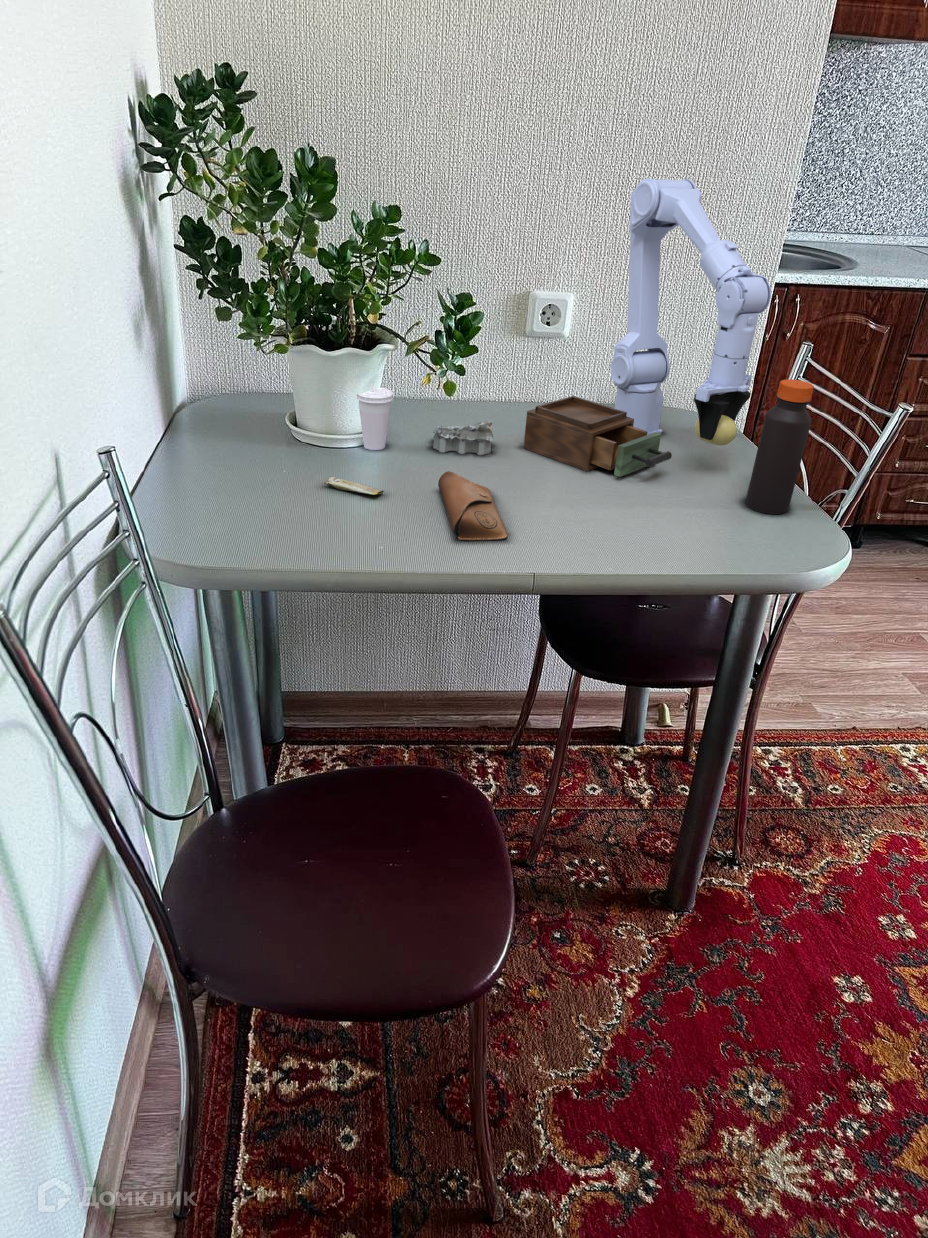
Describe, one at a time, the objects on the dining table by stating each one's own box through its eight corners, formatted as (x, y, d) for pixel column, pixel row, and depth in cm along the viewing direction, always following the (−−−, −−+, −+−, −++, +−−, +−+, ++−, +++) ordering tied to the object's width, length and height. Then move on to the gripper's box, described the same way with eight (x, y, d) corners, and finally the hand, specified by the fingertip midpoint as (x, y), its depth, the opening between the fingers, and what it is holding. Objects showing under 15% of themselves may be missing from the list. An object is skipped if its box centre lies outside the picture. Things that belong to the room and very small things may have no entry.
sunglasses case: (512, 536, 128) (491, 499, 125) (469, 560, 129) (447, 524, 126) (489, 488, 144) (470, 453, 140) (451, 509, 144) (431, 475, 141)
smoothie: (356, 439, 161) (356, 361, 154) (392, 440, 162) (393, 362, 154) (355, 452, 155) (355, 371, 148) (393, 453, 156) (394, 372, 149)
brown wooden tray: (572, 400, 165) (573, 395, 165) (626, 417, 159) (627, 412, 158) (535, 411, 159) (535, 406, 158) (589, 429, 152) (590, 424, 151)
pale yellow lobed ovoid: (701, 434, 157) (707, 406, 155) (738, 445, 153) (745, 417, 151) (686, 440, 154) (692, 411, 152) (724, 452, 150) (730, 423, 148)
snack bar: (384, 489, 140) (376, 489, 137) (383, 499, 140) (374, 499, 138) (332, 475, 143) (322, 475, 140) (330, 485, 144) (320, 484, 141)
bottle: (788, 502, 147) (820, 381, 137) (787, 518, 142) (820, 392, 131) (746, 495, 149) (774, 374, 139) (743, 510, 143) (772, 385, 133)
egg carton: (493, 443, 164) (495, 421, 161) (490, 458, 157) (492, 435, 155) (435, 437, 164) (436, 416, 162) (429, 451, 158) (430, 429, 156)
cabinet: (628, 455, 162) (634, 418, 158) (587, 471, 154) (592, 432, 150) (565, 434, 170) (570, 398, 167) (523, 448, 162) (526, 410, 159)
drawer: (677, 469, 155) (682, 440, 153) (640, 484, 148) (645, 454, 145) (595, 441, 165) (598, 413, 163) (557, 454, 158) (560, 425, 155)
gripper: (730, 367, 139) (713, 450, 146) (774, 353, 148) (756, 432, 155) (691, 356, 143) (675, 438, 150) (736, 344, 152) (719, 421, 159)
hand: (714, 435), depth 153 cm, fingers closed on pale yellow lobed ovoid, 5 cm apart
